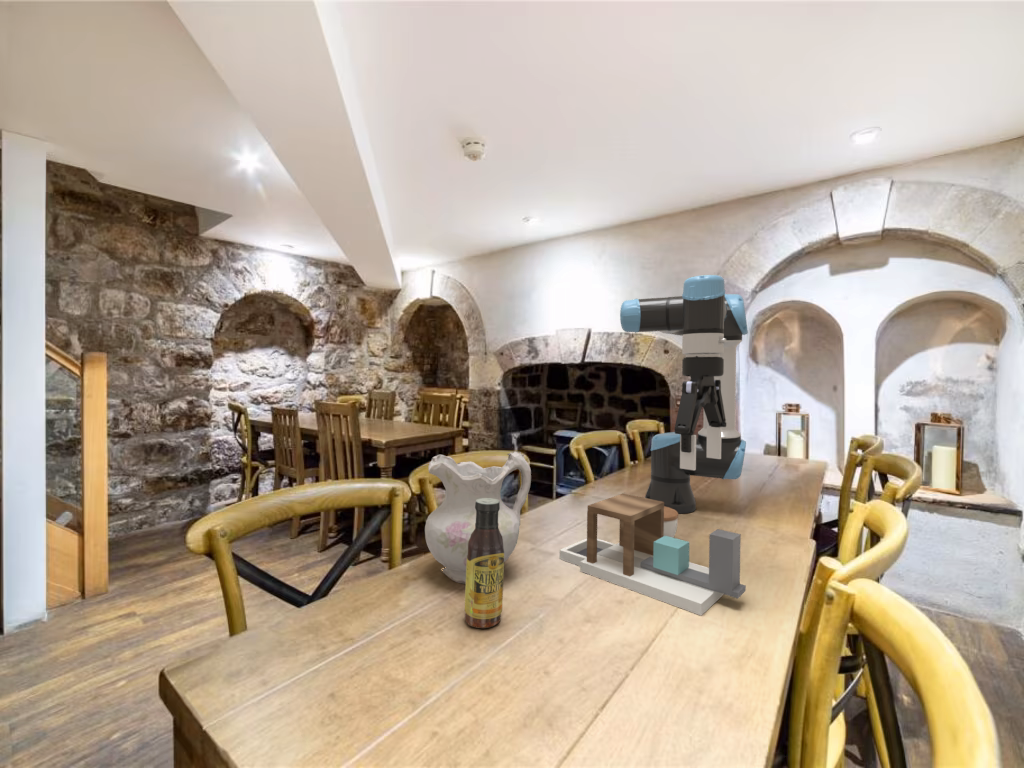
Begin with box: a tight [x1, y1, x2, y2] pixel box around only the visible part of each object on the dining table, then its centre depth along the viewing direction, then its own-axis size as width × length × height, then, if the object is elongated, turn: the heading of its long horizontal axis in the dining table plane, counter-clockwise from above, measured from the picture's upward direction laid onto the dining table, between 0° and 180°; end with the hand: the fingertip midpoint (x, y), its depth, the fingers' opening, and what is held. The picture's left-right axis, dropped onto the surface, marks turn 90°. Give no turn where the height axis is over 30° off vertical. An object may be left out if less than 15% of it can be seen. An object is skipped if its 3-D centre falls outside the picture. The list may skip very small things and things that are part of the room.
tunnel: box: [586, 493, 664, 577], centre depth 96 cm, size 14×10×12 cm
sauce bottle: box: [464, 498, 505, 629], centre depth 75 cm, size 6×6×20 cm
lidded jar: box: [664, 506, 679, 538], centre depth 112 cm, size 11×11×9 cm
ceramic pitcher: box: [424, 450, 532, 585], centre depth 94 cm, size 22×20×25 cm
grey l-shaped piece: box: [640, 528, 747, 599], centre depth 87 cm, size 4×18×10 cm, turn 46°
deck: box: [559, 537, 725, 616], centre depth 94 cm, size 16×32×2 cm, turn 46°
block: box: [653, 536, 690, 575], centre depth 89 cm, size 5×5×5 cm
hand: (701, 463), depth 90 cm, fingers open, 13 cm apart
